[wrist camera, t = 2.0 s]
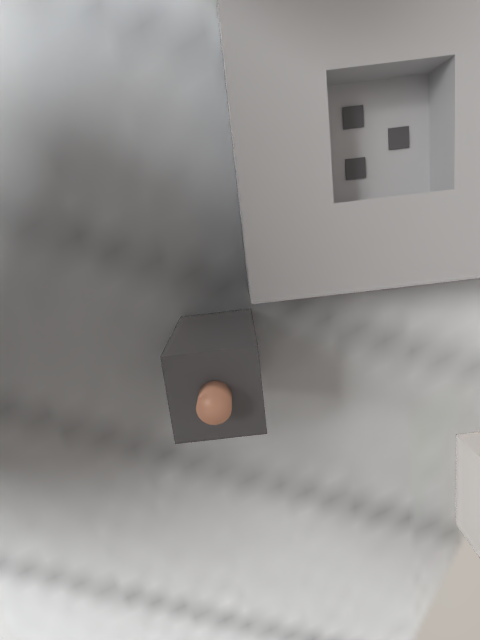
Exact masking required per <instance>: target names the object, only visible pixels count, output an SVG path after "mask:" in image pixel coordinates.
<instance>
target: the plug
mask: <svg viewBox="0 0 480 640" xmlns="http://www.w3.org/2000/svg"><path fill="white" fill-rule="evenodd" d="M161 363H162V369H163V375H164V380H165V386H166V392H167V398H168V404H169V410H170V416H171V422H172V428H173V434H174V440H175V444H179V443H188V442H197V441H206V440H215V439H224V438H233V437H242V436H251V435H260V434H267V428H266V419H265V410H264V400H263V391H262V382H261V373H260V364H259V355H258V346H257V340H256V335H255V329H254V324H253V319H252V313H251V309H245V310H236V311H228V312H219V313H210V314H202V315H193V316H184V317H181V318H180V320H179V322H178V323H177V325H176V327H175V329H174V331H173V333H172V335H171V337H170V339H169V341H168V343H167V345H166V347H165V349H164V351H163V353H162V355H161Z"/></svg>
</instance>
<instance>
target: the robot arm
mask: <svg viewBox="0 0 480 640" xmlns="http://www.w3.org/2000/svg"><path fill="white" fill-rule="evenodd" d="M456 525H457V527H458V528H459V529H460V531H461V532H462V534H463V535H464V536H465V538H466V539H467V541H468V542H469V543H470V545H471V546H472V548H473V549H474V551H475V552H476V553H477V555H478V556H479V557H480V432H472V433H463V434H456Z"/></svg>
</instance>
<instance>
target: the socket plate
mask: <svg viewBox="0 0 480 640" xmlns="http://www.w3.org/2000/svg"><path fill="white" fill-rule="evenodd" d="M217 9H218V18H219V27H220V36H221V45H222V54H223V63H224V72H225V81H226V90H227V99H228V108H229V117H230V126H231V135H232V145H233V154H234V163H235V172H236V181H237V190H238V199H239V208H240V217H241V226H242V235H243V244H244V253H245V262H246V271H247V280H248V289H249V295H250V300H251V304H260V303H269V302H277V301H286V300H295V299H303V298H312V297H321V296H329V295H338V294H347V293H355V292H364V291H373V290H381V289H390V288H399V287H407V286H416V285H425V284H433V283H442V282H451V281H459V280H468V279H477V278H480V0H217Z"/></svg>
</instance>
